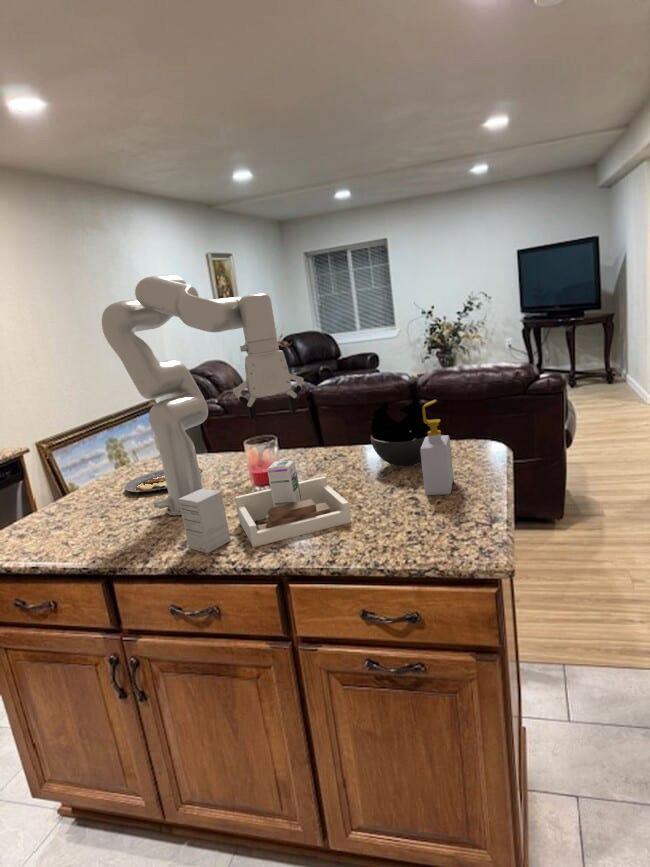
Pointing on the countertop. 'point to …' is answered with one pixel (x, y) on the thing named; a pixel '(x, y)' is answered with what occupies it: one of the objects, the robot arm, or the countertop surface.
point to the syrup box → (284, 482)
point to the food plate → (148, 482)
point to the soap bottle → (436, 459)
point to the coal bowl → (399, 435)
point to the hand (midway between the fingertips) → (274, 417)
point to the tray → (315, 489)
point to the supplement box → (204, 520)
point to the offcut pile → (294, 513)
